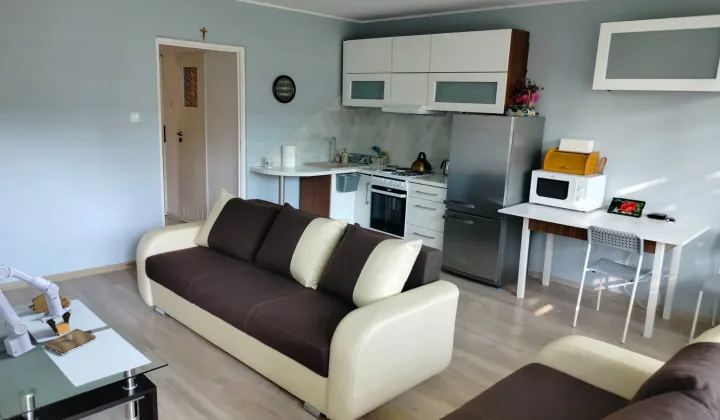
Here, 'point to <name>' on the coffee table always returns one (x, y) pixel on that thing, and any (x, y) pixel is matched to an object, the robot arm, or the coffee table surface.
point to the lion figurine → (64, 303)
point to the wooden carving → (40, 303)
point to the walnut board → (70, 341)
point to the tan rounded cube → (62, 327)
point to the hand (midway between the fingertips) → (61, 329)
